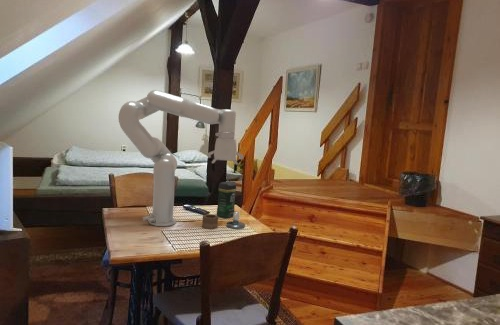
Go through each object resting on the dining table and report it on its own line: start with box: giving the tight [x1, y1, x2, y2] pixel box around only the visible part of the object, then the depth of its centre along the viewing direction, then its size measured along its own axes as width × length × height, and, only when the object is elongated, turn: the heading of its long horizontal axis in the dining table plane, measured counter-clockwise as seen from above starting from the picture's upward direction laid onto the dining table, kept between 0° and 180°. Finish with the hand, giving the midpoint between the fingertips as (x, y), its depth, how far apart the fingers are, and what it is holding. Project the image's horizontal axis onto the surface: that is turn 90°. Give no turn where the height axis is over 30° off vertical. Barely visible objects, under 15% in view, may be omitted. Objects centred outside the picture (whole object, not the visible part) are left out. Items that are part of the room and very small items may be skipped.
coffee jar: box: [216, 180, 237, 219], centre depth 188 cm, size 10×8×19 cm
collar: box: [201, 214, 219, 230], centre depth 168 cm, size 7×7×5 cm
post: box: [225, 210, 246, 230], centre depth 172 cm, size 9×9×7 cm
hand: (224, 172), depth 169 cm, fingers open, 9 cm apart
